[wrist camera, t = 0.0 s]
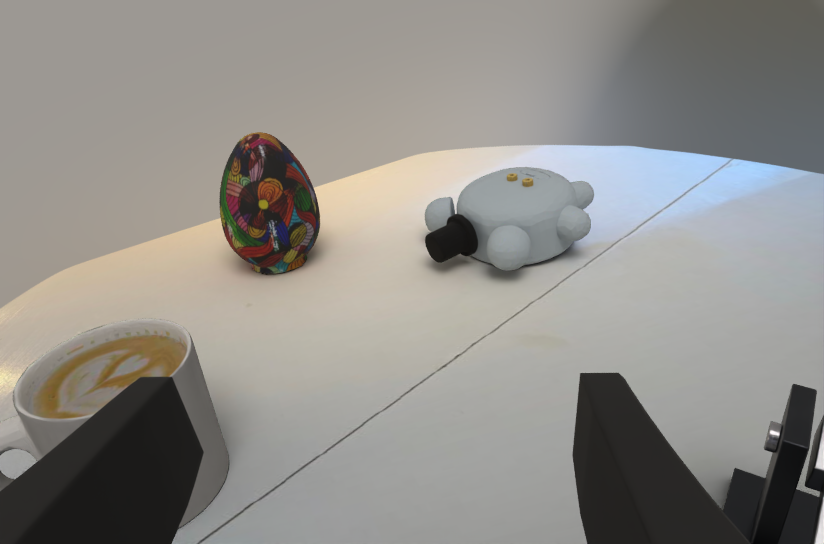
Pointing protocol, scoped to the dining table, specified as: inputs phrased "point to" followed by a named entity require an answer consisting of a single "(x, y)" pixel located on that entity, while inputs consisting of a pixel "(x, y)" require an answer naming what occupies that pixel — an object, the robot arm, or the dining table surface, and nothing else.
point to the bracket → (778, 481)
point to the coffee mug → (114, 393)
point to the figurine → (510, 218)
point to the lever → (817, 481)
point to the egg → (268, 205)
